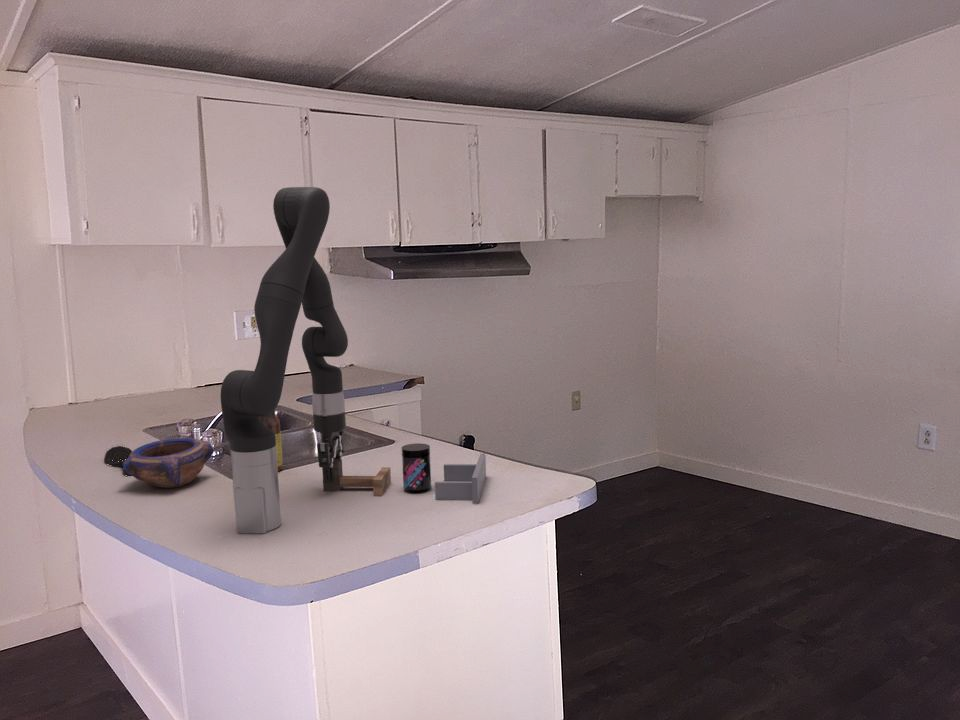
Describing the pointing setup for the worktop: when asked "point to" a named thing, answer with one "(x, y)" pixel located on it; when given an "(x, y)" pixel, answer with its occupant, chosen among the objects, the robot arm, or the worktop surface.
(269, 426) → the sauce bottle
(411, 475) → the supplement container
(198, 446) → the bowl
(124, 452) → the hairbrush
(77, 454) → the worktop surface
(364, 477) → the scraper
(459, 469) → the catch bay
